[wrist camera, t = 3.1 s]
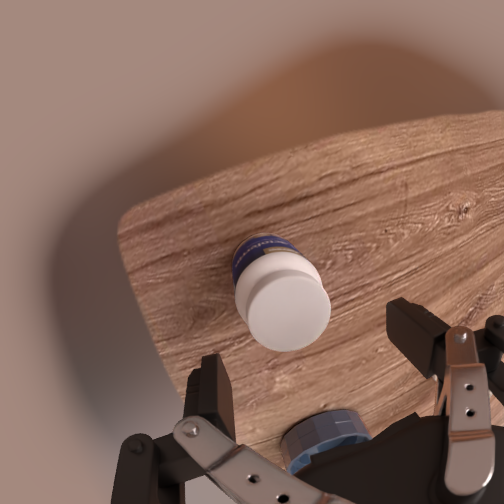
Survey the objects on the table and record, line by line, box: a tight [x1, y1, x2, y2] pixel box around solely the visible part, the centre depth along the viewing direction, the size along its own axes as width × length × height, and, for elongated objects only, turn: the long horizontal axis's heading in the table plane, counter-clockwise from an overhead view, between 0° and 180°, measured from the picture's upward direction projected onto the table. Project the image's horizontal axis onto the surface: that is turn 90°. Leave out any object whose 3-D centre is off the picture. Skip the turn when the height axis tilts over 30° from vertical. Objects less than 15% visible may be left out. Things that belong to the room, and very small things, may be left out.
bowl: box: [280, 410, 373, 475], centre depth 29 cm, size 12×12×5 cm
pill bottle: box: [232, 233, 331, 352], centre depth 19 cm, size 6×6×10 cm
